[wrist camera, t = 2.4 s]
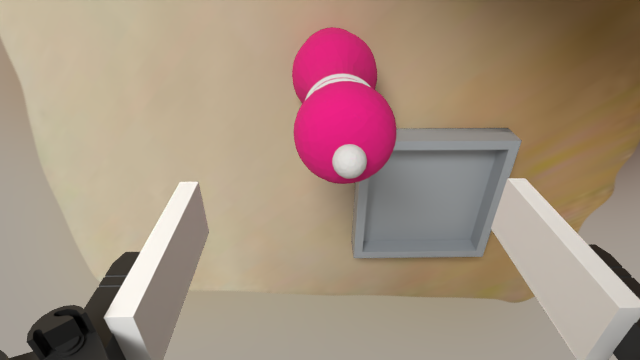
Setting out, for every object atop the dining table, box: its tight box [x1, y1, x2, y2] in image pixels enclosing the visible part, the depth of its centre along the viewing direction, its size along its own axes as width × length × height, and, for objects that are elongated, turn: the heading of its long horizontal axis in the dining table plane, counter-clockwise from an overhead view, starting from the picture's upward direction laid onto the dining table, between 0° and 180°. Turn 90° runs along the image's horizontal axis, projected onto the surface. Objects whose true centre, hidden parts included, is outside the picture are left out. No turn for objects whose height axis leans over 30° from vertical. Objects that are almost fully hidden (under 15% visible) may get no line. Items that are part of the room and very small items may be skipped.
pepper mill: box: [292, 28, 396, 184], centre depth 26 cm, size 7×7×20 cm
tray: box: [351, 128, 521, 258], centre depth 42 cm, size 16×16×3 cm
